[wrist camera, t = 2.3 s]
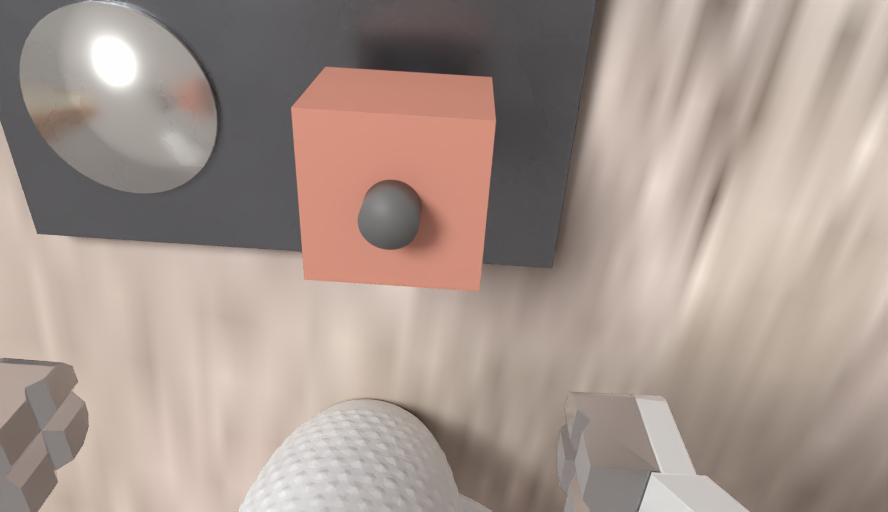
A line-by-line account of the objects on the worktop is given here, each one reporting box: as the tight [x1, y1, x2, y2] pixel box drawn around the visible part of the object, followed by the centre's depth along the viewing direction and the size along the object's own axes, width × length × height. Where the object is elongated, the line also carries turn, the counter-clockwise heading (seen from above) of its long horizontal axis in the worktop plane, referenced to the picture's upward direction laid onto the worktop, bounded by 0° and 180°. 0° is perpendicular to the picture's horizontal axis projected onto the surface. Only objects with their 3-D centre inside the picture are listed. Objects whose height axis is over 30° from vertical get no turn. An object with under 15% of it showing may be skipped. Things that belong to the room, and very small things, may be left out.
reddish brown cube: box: [291, 67, 496, 291], centre depth 18 cm, size 5×5×5 cm
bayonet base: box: [0, 0, 597, 268], centre depth 21 cm, size 22×12×7 cm, turn 87°
